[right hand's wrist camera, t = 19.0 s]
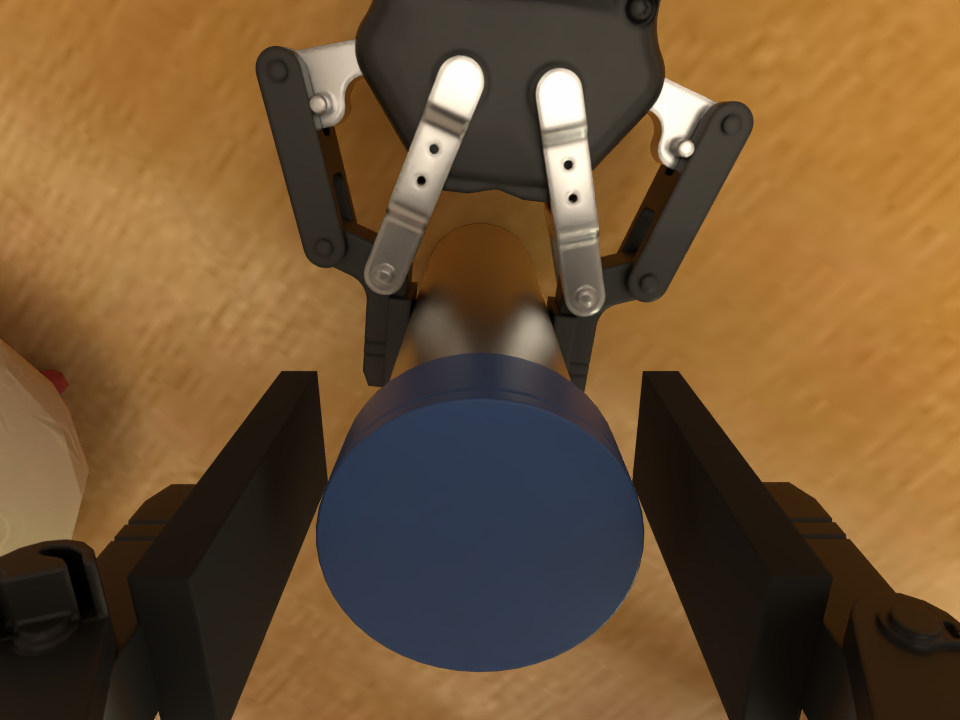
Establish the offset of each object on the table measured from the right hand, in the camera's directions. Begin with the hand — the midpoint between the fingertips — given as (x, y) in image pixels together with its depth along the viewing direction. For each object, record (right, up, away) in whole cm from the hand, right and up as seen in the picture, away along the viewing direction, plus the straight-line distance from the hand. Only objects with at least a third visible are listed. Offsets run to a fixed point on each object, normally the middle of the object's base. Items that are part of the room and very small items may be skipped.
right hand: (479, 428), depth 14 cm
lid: (0, -1, -4) cm, 4 cm away
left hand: (0, 0, +8) cm, 8 cm away
